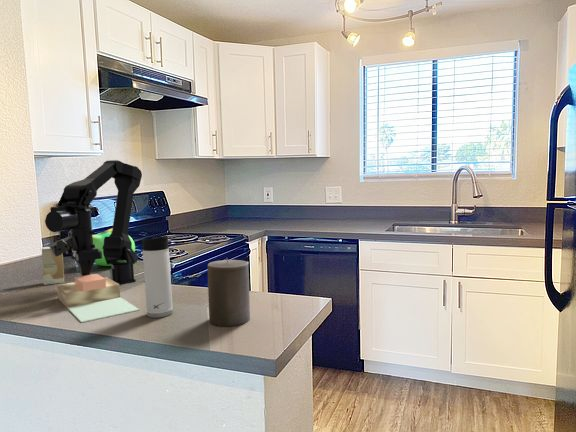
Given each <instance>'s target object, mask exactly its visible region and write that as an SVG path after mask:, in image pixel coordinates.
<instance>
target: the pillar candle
mask: <svg viewBox="0 0 576 432" xmlns="http://www.w3.org/2000/svg"><path fill="white" fill-rule="evenodd" d="M249 277H250V273H249V261H245V260H241V259H240V260H239V259H228V257H226V259H223V260H215V261H211V262H209V263H208V264H207V294H208V316H209V323H210V324H211V325H213V326H218V327H224V328H225V327H236V326H239V325H243V324H246V323H248V322H249V321H250V320H251V306H250V302H251V301H250V278H249Z"/></svg>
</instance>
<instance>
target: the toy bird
mask: <svg viewBox="0 0 576 432" xmlns="http://www.w3.org/2000/svg"><path fill="white" fill-rule="evenodd" d="M112 229H113V227H112V228H109V229H107V230H104V231H101V232H98V233H97V234H92V236H93V244H95V248H97V249H99V250H100V251H101V252H102V258H101V259H96V260H95V262H94V264H96V265H99V266H103V267H111V264H107V263H106V260H105V257H104V255H103V249H102V248H103V245H104V238H105V237H109V236H110V234H111V233H112ZM128 236H129V238H130V240H131V242H132V250H133V251H134V252H135V251H136V244H135V241H134V240H133V238H132V237H131V236H130V235H129V234H128Z"/></svg>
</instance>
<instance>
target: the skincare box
mask: <svg viewBox="0 0 576 432" xmlns="http://www.w3.org/2000/svg"><path fill="white" fill-rule="evenodd" d="M63 254H64V253H62V254H61V255H59V256H55V255H53V253H52V251H51V249H50V247H49V246H43V247H41V260H42V262H41V264H42V265H41V266H42V277H43V278H42V279H43V280H42V281H43V285H44V286H47V285H48V286H49V285H55V284H65V274H64V273H65V272H64V255H63Z"/></svg>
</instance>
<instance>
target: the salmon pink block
mask: <svg viewBox="0 0 576 432" xmlns="http://www.w3.org/2000/svg"><path fill="white" fill-rule="evenodd" d="M74 282H75V286H77V287H78V288H79V289H81V290H82V291H83V292H84V291H89V290H95V289H101V288H106V279H105V278H103V276H101V274H98V273H92V274H89V275H85V276H81V275H79V276H75V277H74Z"/></svg>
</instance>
